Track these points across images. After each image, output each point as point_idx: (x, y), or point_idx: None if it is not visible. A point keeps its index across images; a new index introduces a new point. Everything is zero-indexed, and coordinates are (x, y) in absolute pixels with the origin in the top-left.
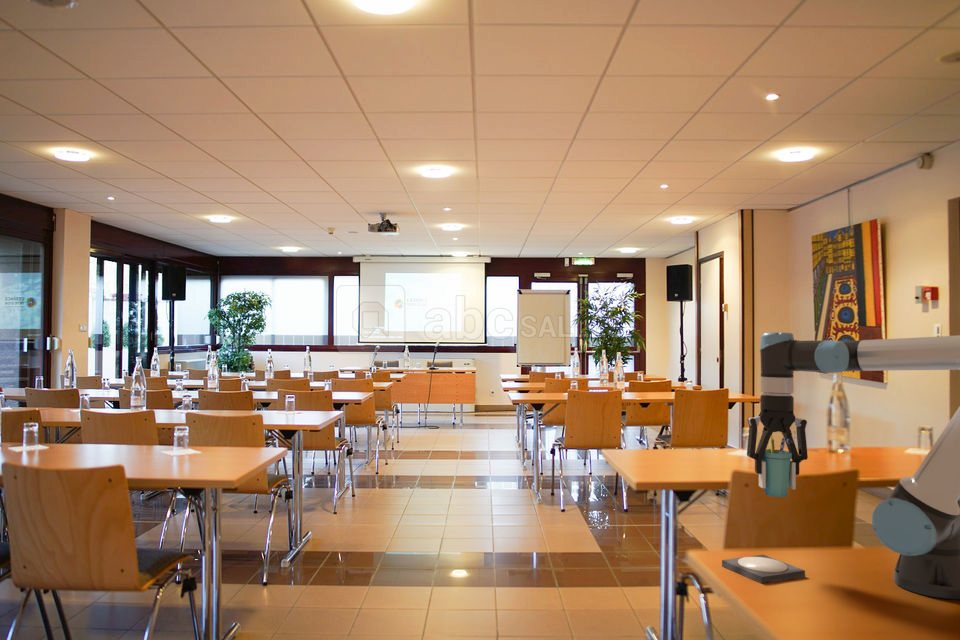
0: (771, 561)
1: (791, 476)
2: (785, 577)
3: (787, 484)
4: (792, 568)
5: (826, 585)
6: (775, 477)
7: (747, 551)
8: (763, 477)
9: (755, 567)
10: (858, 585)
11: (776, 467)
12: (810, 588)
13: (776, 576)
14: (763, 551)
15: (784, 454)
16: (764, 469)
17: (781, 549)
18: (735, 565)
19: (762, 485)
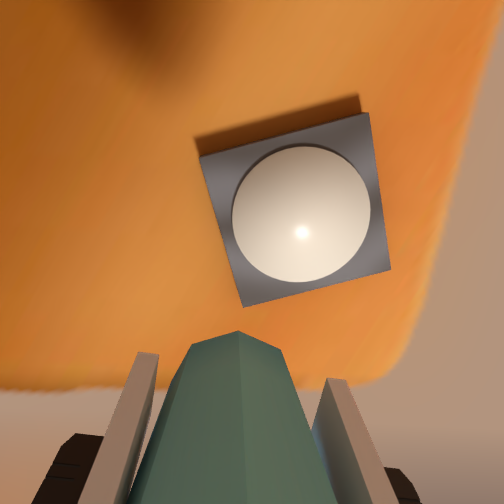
0: (261, 237)
1: (139, 427)
2: (274, 136)
3: (183, 384)
4: (227, 179)
5: (176, 75)
6: (281, 414)
7: None
8: (361, 430)
9: (342, 188)
10: (73, 63)
11: (290, 476)
12: (241, 54)
13: (310, 127)
14: None
15: None
16: (373, 484)
17: None
18: (381, 221)
19: (349, 392)
